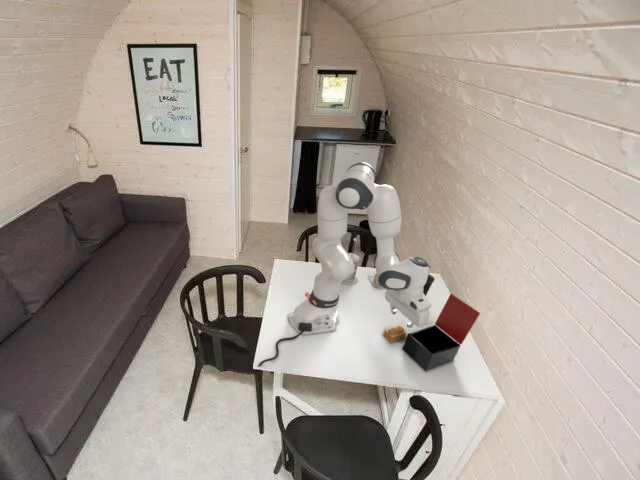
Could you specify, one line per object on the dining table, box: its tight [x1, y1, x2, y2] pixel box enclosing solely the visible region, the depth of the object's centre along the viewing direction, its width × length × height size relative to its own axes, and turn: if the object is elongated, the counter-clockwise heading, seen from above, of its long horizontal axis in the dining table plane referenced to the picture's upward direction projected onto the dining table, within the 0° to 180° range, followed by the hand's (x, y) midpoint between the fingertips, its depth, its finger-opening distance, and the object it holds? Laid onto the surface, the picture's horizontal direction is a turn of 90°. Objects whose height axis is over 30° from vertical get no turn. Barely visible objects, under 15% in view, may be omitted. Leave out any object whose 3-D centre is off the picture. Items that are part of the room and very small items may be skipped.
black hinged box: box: [401, 324, 462, 372], centre depth 143 cm, size 15×13×9 cm
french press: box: [341, 237, 360, 285], centre depth 183 cm, size 10×12×25 cm
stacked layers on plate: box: [368, 270, 383, 288], centre depth 187 cm, size 10×9×6 cm
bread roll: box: [383, 325, 408, 343], centre depth 153 cm, size 8×4×4 cm, turn 112°
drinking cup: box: [423, 265, 435, 297], centre depth 170 cm, size 8×8×20 cm
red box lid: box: [434, 293, 481, 346], centre depth 139 cm, size 15×13×1 cm
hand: (401, 319), depth 149 cm, fingers open, 8 cm apart
